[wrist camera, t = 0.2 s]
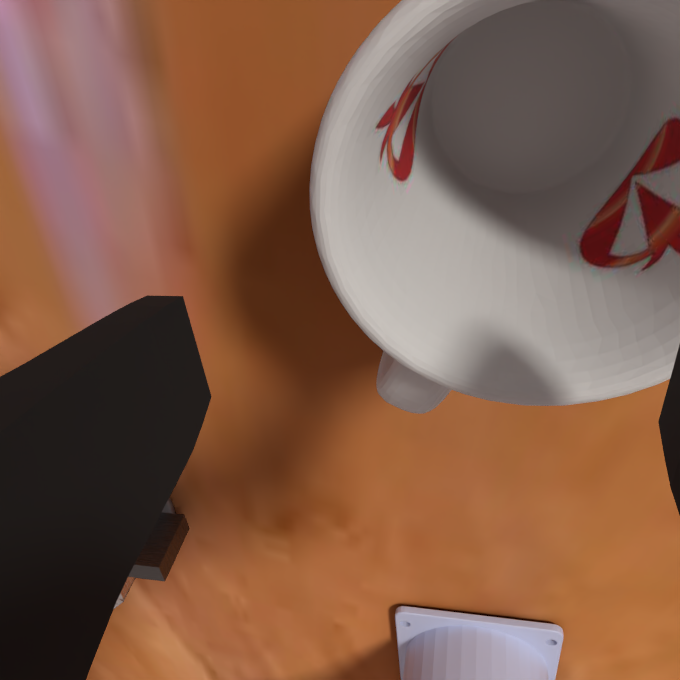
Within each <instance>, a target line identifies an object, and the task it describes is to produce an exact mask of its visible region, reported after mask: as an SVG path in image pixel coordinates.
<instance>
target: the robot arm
mask: <svg viewBox="0 0 680 680" xmlns="http://www.w3.org/2000/svg"><path fill="white" fill-rule="evenodd" d="M210 399H211V394H210V390H209V387H208V383H207V380H206V376H205V373H204V369H203V366H202V362H201V359H200V355H199V352H198V348H197V345H196V341H195V338H194V334H193V331H192V327H191V324H190V320H189V317H188V313H187V309H186V306H185V302H184V299H183V296H145V297H143V298H141V299H139V300H136V301H134V302H132V303H130V304H128V305H126V306H124V307H122V308H121V309H119V310H117V311H115V312H113V313H111V314H110V315H108V316H106V317H104V318H102V319H101V320H99V321H97V322H95V323H94V324H92V325H90V326H88V327H87V328H85V329H83V330H82V331H80V332H78V333H76V334H75V335H73V336H71V337H70V338H68V339H66V340H64V341H63V342H61V343H59V344H58V345H56V346H54V347H52V348H51V349H49V350H47V351H46V352H44V353H42V354H40V355H39V356H37V357H35V358H33V359H32V360H30V361H28V362H27V363H25V364H23V365H21V366H19V367H18V368H16V369H14V370H12V371H10V372H8V373H6V374H5V375H3V376H1V377H0V680H86V678H87V675H88V672H89V670H90V667H91V664H92V662H93V659H94V657H95V654H96V652H97V649H98V647H99V644H100V642H101V639H102V637H103V634H104V631H105V629H106V626H107V624H108V621H109V619H110V616H111V614H112V611H113V609H114V606H115V604H116V601H117V599H118V597H119V595H120V593H121V591H122V589H123V587H124V584H125V582H126V580H127V578H128V576H129V574H130V572H131V570H132V568H133V566H134V564H135V562H136V560H137V558H138V556H139V555H140V553H141V551H142V549H143V547H144V545H145V543H146V541H147V539H148V537H149V535H150V533H151V531H152V530H153V528H154V526H155V524H156V522H157V520H158V518H159V516H160V514H161V512H162V510H163V508H164V507H165V505H166V503H167V501H168V499H169V497H170V495H171V493H172V491H173V489H174V487H175V485H176V483H177V481H178V479H179V477H180V475H181V473H182V471H183V470H184V468H185V466H186V464H187V462H188V459H189V457H190V455H191V453H192V451H193V449H194V446H195V443H196V441H197V438H198V435H199V432H200V430H201V427H202V424H203V421H204V418H205V415H206V412H207V409H208V406H209V402H210ZM659 427H660V433H661V439H662V445H663V451H664V456H665V462H666V467H667V471H668V476H669V481H670V486H671V490H672V493H673V496H674V499H675V502H676V505H677V508H678V511H679V514H680V345H679V348H678V352H677V356H676V359H675V363H674V367H673V370H672V374H671V378H670V382H669V385H668V389H667V393H666V396H665V400H664V404H663V407H662V411H661V415H660V418H659ZM395 622H396V633H397V644H398V655H399V666H400V676H401V680H555V678H556V673H557V668H558V663H559V657H560V652H561V647H562V642H563V629H562V628H561V627H560V626H558V625H556V624H550V623H542V622H534V621H525V620H517V619H509V618H500V617H492V616H484V615H475V614H467V613H459V612H450V611H442V610H434V609H425V608H417V607H409V606H400V607H398V608H397V609H396V612H395Z"/></svg>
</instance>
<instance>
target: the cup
mask: <svg viewBox="0 0 680 680" xmlns="http://www.w3.org/2000/svg"><path fill="white" fill-rule="evenodd" d="M310 213H311V221H312V229H313V233H314V238H315V242H316V246H317V250H318V254H319V256H320V259H321V262H322V265H323V267H324V270H325V273H326V275H327V277H328V279H329V281H330V284H331V286H332V288H333V290H334V291H335V293H336V295H337V296H338V298H339V300H340V302H341V303H342V305H343V306H344V308H345V309H346V311H347V312H348V313H349V315H350V316H351V318H352V319H353V320H354V321H355V323H356V324H357V325H358V326H359V327H360V328H361V329H362V331H363V332H364V333H365V334H366V335H367V336H368V337H369V338H370V339H371V340H372V341H373V342H374V343H375V344H377V345H378V346H379V347H380V348H381V349H382V350H383V354H382V357H381V361H380V365H379V369H378V374H377V384H376V385H377V391H378V393H379V395H380V396H381V397H382V398H383V399H384V400H385V401H386V402H388V403H390V404H392V405H394V406H396V407H398V408H400V409H402V410H405V411H408V412H411V413H426V412H428V411H431V410H432V409H434V408H436V407H437V406H438V405H439V404H440V403H441V402H442V401H443V400H444V399H445V397H446V396H447V395H448V394H449V392H450V391H451V390H454V391H457V392H460V393H463V394H466V395H470V396H474V397H478V398H482V399H485V400H490V401H496V402H504V403H511V404H518V405H537V406H554V405H571V404H579V403H587V402H595V401H601V400H605V399H610V398H614V397H618V396H623V395H627V394H630V393H633V392H636V391H639V390H642V389H645V388H648V387H651V386H654V385H657V384H659V383H662V382H664V381H666V380H668V379H670V378H671V374H672V370H673V367H674V363H675V359H676V356H677V352H678V348H679V345H680V0H402V1H401V2H399V3H398V4H397V5H396V6H395V7H394V8H393V9H392V10H391V11H390V12H389V13H388V14H387V15H386V16H385V17H384V18H383V19H382V20H381V21H380V22H379V23H378V25H377V26H376V27H375V28H374V29H373V31H372V32H371V33H370V34H369V36H368V37H367V38H366V39H365V41H364V42H363V43H362V44H361V46H360V47H359V48H358V50H357V51H356V53H355V54H354V56H353V57H352V59H351V60H350V62H349V63H348V65H347V66H346V68H345V70H344V72H343V73H342V75H341V77H340V79H339V80H338V82H337V84H336V86H335V88H334V91H333V93H332V95H331V97H330V99H329V101H328V104H327V107H326V109H325V112H324V115H323V117H322V120H321V124H320V127H319V131H318V135H317V138H316V142H315V148H314V153H313V159H312V164H311V175H310Z"/></svg>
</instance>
